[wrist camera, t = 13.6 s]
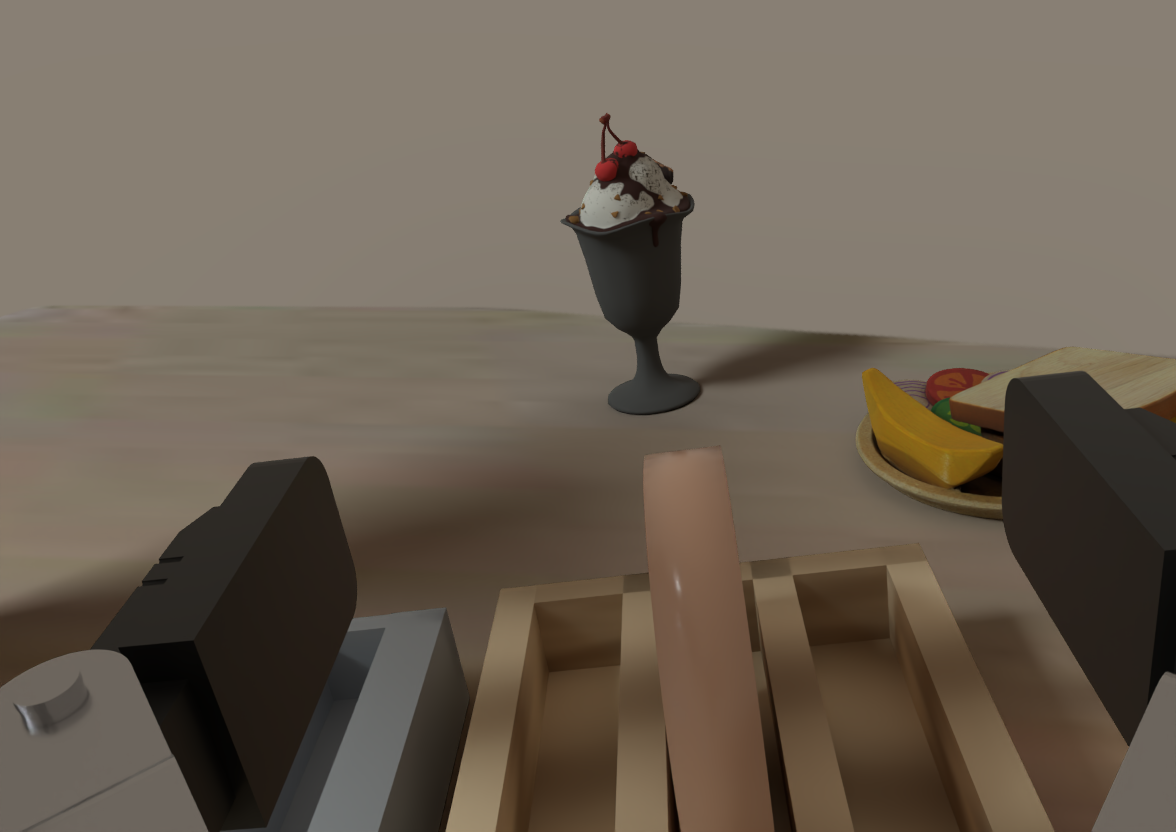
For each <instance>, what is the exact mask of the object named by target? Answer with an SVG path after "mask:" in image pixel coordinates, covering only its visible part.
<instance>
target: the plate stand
mask: <svg viewBox="0 0 1176 832" xmlns="http://www.w3.org/2000/svg"><path fill="white" fill-rule="evenodd" d="M469 698H470V697H469V693H468V689H467V685H466V681H465V678H464V674H463V670H462V666H461V662H460V658H459V655H458V651H457V647H456V643H455V639H454V635H453V632H452V628H451V624H450V620H449V616H448V613H447V609H446V607H445V608H436V609H427V610H417V611H408V612H399V613H391V614H389V615H379V616H370V617H361V618H353V619H352V621H351V624H350V626H349V629H348V631H347V633H346V636H345V638H344V641H343V643H342V646H341V648H340V650H339V653H338V655H337V658H336V660H335V662H334V665H333V667H332V670H331V672H330V675H329V677H328V679H327V682H326V684H325V687H324V689H323V692H322V694H321V696H320V699H319V701H318V704H317V706H316V708H315V711H314V713H313V716H312V718H311V721H310V723H309V725H308V728H307V730H306V733H305V735H304V738H303V740H302V742H301V745H300V747H299V750H298V752H297V755H296V757H295V759H294V762H293V764H292V767H291V769H290V771H289V774H288V776H287V779H286V781H285V784H284V786H283V788H282V791H281V793H280V796H279V798H278V801H277V803H276V805H275V808H274V810H273V813H272V815H271V817H270V820H269V822H268V825H267V827H266V828H254V829H240V830H227V831H220V832H438V830H439V826H440V822H441V818H442V813H443V809H444V805H445V801H446V796H447V792H448V788H449V784H450V779H451V775H452V771H453V767H454V762H455V758H456V754H457V750H458V745H459V741H460V737H461V733H462V728H463V724H464V720H465V716H466V711H467V707H468V703H469Z"/></svg>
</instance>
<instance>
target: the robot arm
mask: <svg viewBox="0 0 1176 832" xmlns="http://www.w3.org/2000/svg"><path fill="white" fill-rule="evenodd" d="M1002 514H1003V522H1004V527H1005V532H1006V536H1007V539H1008V543H1009V545H1010V548H1011V550H1012V553H1013V555H1014V557H1015V558H1016V560H1017V562H1018V563H1019V565H1020V567H1021V568H1022V570H1023V572H1024V573H1025V575H1026V577H1027V578H1028V580H1029V582H1030V583H1031V585H1032V587H1033V588H1034V590H1035V591H1036V593H1037V595H1038V596H1039V598H1040V600H1041V601H1042V603H1043V605H1044V606H1045V608H1046V610H1047V611H1048V613H1049V615H1050V616H1051V618H1052V620H1053V621H1054V623H1055V625H1056V626H1057V628H1058V630H1059V631H1060V633H1061V635H1062V636H1063V638H1064V640H1065V641H1066V643H1067V645H1068V646H1069V648H1070V650H1071V651H1072V653H1073V655H1074V656H1075V658H1076V660H1077V661H1078V663H1079V665H1080V666H1081V668H1082V670H1083V671H1084V673H1085V675H1086V676H1087V678H1088V680H1089V681H1090V683H1091V685H1092V686H1093V688H1094V690H1095V691H1096V693H1097V695H1098V696H1099V698H1100V700H1101V701H1102V703H1103V705H1104V706H1105V708H1106V710H1107V711H1108V713H1109V715H1110V716H1111V718H1112V720H1113V721H1114V723H1115V725H1116V726H1117V728H1118V730H1119V731H1120V733H1121V735H1122V736H1123V738H1124V740H1125V741H1126V743H1127V745H1128V746H1129V749H1128V751H1127V753H1126V755H1125V758H1124V760H1123V762H1122V764H1121V767H1120V769H1119V771H1118V773H1117V775H1116V778H1115V780H1114V782H1113V784H1112V786H1111V789H1110V791H1109V793H1108V795H1107V798H1106V800H1105V802H1104V804H1103V806H1102V809H1101V811H1100V813H1099V815H1098V818H1097V820H1096V822H1095V824H1094V826H1093V829H1092V831H1091V832H1176V423H1174V422H1172V421H1170V420H1167V419H1165V418H1163V417H1161V416H1158V415H1156V414H1154V413H1152V412H1149V411H1147V410H1145V409H1142V408H1140V407H1139V408H1130V409H1123V408H1122V407H1121V406H1120V405H1119V404H1118V403H1117V402H1116V401H1115V400H1114V399H1113V398H1112V397H1111V396H1110V395H1109V394H1108V393H1107V392H1106V391H1105V390H1104V389H1103V388H1102V387H1101V386H1100V385H1099V384H1098V383H1097V382H1096V381H1095V380H1094V379H1093V378H1092V377H1091V376H1090V375H1089V374H1088V373H1086V372H1085V371H1073V372H1064V373H1055V374H1046V375H1037V376H1029V377H1020V378H1013V379H1011V380H1010V382H1009V384H1008V386H1007V390H1006V395H1005V408H1004V440H1003V472H1002ZM142 583H143V585H142V586H141V587H137V588H136V590H135V591H134V592H133V594H132V595H131V596H130V598H129V599H128V600H127V602H126V603H125V604H124V606H123V607H122V608H121V609H120V611H119V612H118V613H117V615H116V616H115V617H114V619H113V620H112V621H111V623H110V624H109V625H108V627H107V628H106V629H105V631H104V632H103V633H102V634H101V636H100V637H99V638H98V640H97V641H96V642H95V644H94V645H93V646H92V648H91V649H90V650H86V651H79V652H74V653H70V654H66V655H63V656H60V657H57V658H54V659H51V660H49V661H46V662H44V663H41V664H39V665H37V666H35V667H33V668H31V669H29V670H27V671H25V672H23V673H22V674H20V675H18V676H17V677H15V678H13V679H12V680H11V681H9V682H8V683H6V684H5V685H3V686H2V687H1V688H0V832H220V831H227V830H240V829H254V828H266V827H267V825H268V822H269V820H270V817H271V815H272V813H273V810H274V808H275V805H276V803H277V801H278V798H279V796H280V793H281V791H282V788H283V786H284V784H285V781H286V779H287V776H288V774H289V771H290V769H291V767H292V764H293V762H294V759H295V757H296V755H297V752H298V750H299V747H300V745H301V742H302V740H303V738H304V735H305V733H306V730H307V728H308V725H309V723H310V721H311V718H312V716H313V713H314V711H315V708H316V706H317V704H318V701H319V699H320V696H321V694H322V692H323V689H324V687H325V684H326V682H327V679H328V677H329V675H330V672H331V670H332V667H333V665H334V662H335V660H336V658H337V655H338V653H339V650H340V648H341V646H342V643H343V641H344V638H345V636H346V633H347V631H348V629H349V626H350V624H351V621H352V619H353V616H354V613H355V608H356V600H357V581H356V573H355V568H354V564H353V560H352V557H351V553H350V550H349V546H348V543H347V540H346V536H345V533H344V529H343V526H342V523H341V519H340V516H339V512H338V509H337V506H336V502H335V499H334V495H333V492H332V488H331V485H330V482H329V478H328V475H327V472H326V470H325V468H324V466H323V464H322V463H321V461H320V460H319V459H318V458H316V457H314V456H311V457H302V458H293V459H284V460H275V461H267V462H258V463H253V464H251V465H250V466H249V467H248V468H247V470H246V471H245V472H244V474H243V475H242V477H241V478H240V479H239V481H238V482H237V484H236V485H235V486H234V488H233V489H232V490H231V492H230V493H229V495H228V496H227V497H226V499H225V500H224V501H223V503H222V504H221V506H218V507H213V508H211V509H210V510H209V511H207V512H206V513H205V514H203V515H202V516H200V517H199V518H198V519H196V520H195V521H194V522H192V523H191V524H190V525H188V526H187V527H186V528H184V529H183V530H181V531H180V532H179V533H178V534H177V536H176V537H175V538H174V540H173V541H172V542H171V544H170V545H169V546H168V548H167V549H166V550H165V552H164V553H163V554H162V555H161V557H160V558H159V564H155V565H154V566H153V567H152V569H151V570H150V571H149V573H148V574H147V575H146V577H145V578H144V579H143V581H142Z"/></svg>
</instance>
